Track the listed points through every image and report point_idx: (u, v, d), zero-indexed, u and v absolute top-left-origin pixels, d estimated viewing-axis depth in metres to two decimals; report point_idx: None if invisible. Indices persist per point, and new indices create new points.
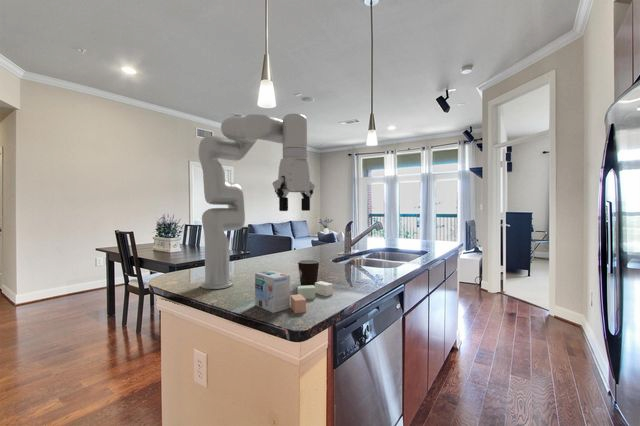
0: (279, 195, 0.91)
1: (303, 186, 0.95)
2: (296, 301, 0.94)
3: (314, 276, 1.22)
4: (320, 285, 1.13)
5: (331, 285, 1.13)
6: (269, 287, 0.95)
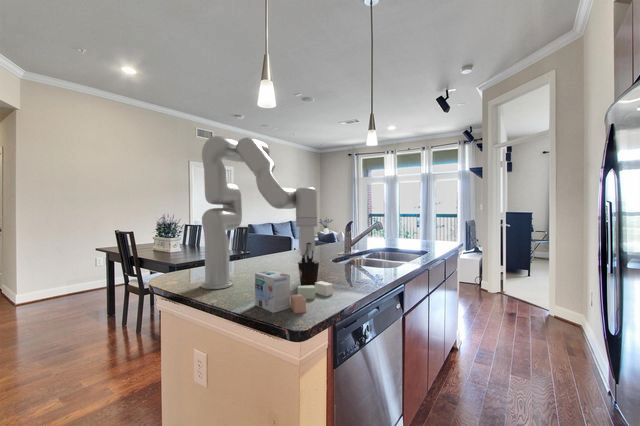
0: (309, 260, 1.03)
1: None
2: (296, 301, 0.94)
3: (314, 276, 1.22)
4: (320, 285, 1.13)
5: (331, 285, 1.13)
6: (269, 287, 0.95)
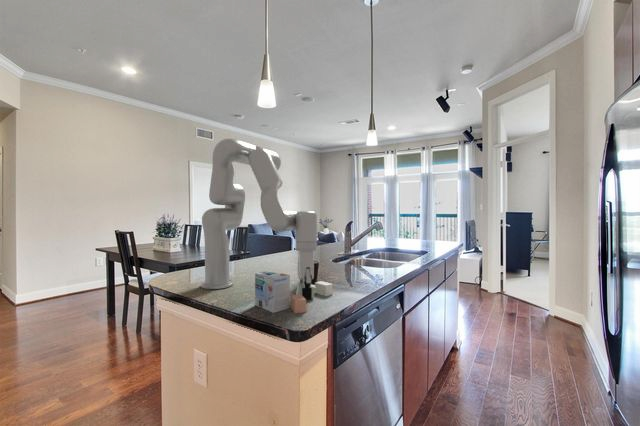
0: (307, 287, 1.06)
1: None
2: (296, 301, 0.94)
3: (314, 276, 1.22)
4: (320, 285, 1.13)
5: (331, 285, 1.13)
6: (269, 287, 0.95)
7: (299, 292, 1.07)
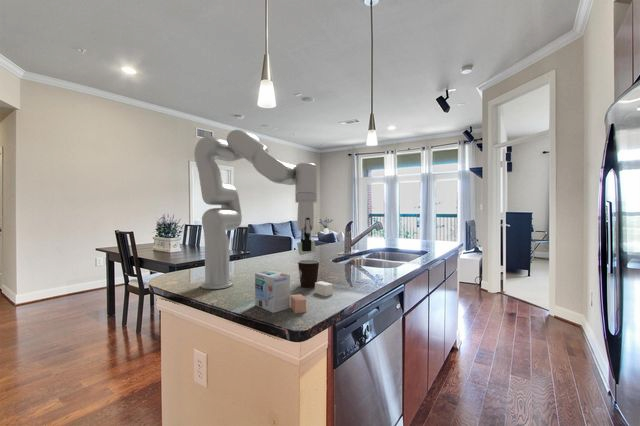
0: (306, 238, 1.05)
1: None
2: (296, 301, 0.94)
3: (314, 276, 1.22)
4: (320, 285, 1.13)
5: (331, 285, 1.13)
6: (269, 287, 0.95)
7: (301, 251, 1.07)
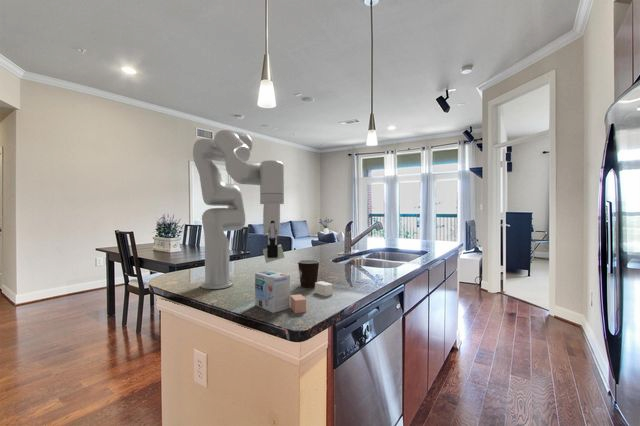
0: (272, 243, 0.96)
1: None
2: (296, 301, 0.94)
3: (314, 276, 1.22)
4: (320, 285, 1.13)
5: (331, 285, 1.13)
6: (269, 287, 0.95)
7: (267, 258, 0.97)
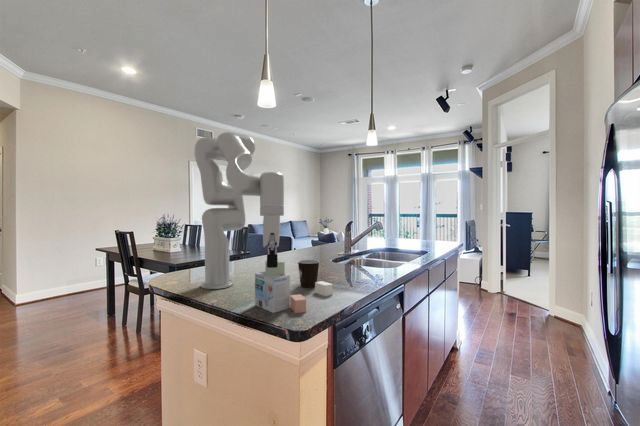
0: (271, 253, 0.93)
1: None
2: (296, 301, 0.94)
3: (314, 276, 1.22)
4: (320, 285, 1.13)
5: (331, 285, 1.13)
6: (269, 287, 0.95)
7: (267, 271, 0.97)
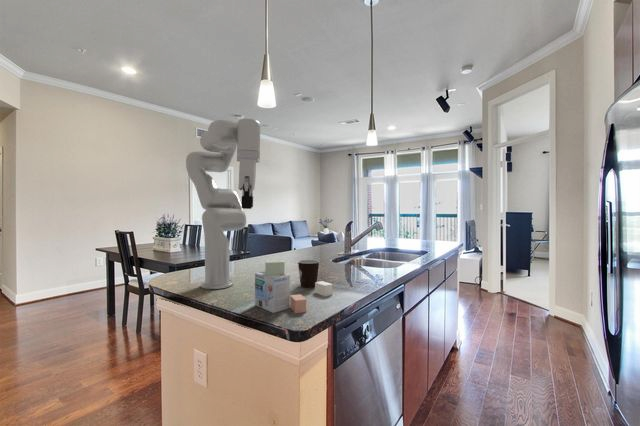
0: (246, 194, 0.98)
1: (254, 186, 1.06)
2: (296, 301, 0.94)
3: (314, 276, 1.22)
4: (320, 285, 1.13)
5: (331, 285, 1.13)
6: (269, 287, 0.95)
7: (267, 271, 0.97)
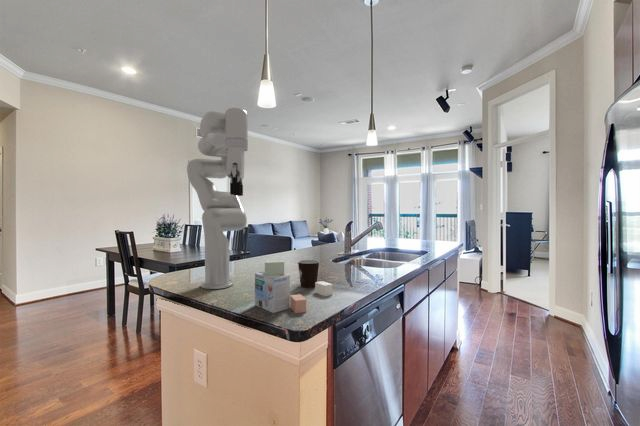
0: (234, 180, 1.00)
1: (243, 174, 1.08)
2: (296, 301, 0.94)
3: (314, 276, 1.22)
4: (320, 285, 1.13)
5: (331, 285, 1.13)
6: (269, 287, 0.95)
7: (267, 271, 0.97)
